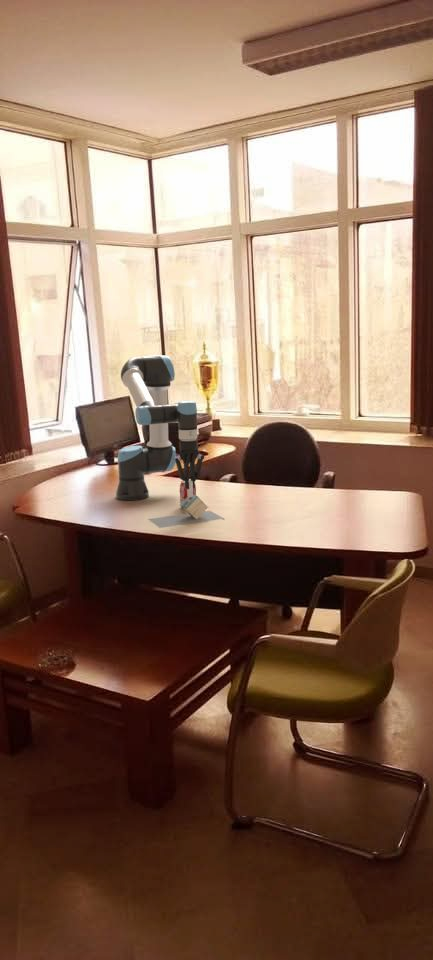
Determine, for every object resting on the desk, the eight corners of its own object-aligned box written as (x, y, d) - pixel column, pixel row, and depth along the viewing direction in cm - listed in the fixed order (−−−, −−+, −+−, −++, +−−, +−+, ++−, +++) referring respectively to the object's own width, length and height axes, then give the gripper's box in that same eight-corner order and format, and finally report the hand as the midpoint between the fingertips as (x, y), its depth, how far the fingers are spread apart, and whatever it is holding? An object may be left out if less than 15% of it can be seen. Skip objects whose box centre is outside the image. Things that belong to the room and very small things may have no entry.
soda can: (194, 510, 331) (193, 483, 329) (178, 510, 333) (177, 482, 330) (198, 506, 338) (197, 479, 336) (182, 506, 340) (181, 479, 337)
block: (190, 492, 320) (201, 503, 323) (179, 505, 319) (190, 515, 322) (197, 496, 313) (208, 507, 316) (185, 508, 312) (196, 519, 315)
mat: (147, 519, 318) (147, 519, 318) (209, 511, 329) (209, 510, 329) (159, 528, 305) (159, 527, 305) (224, 519, 316) (224, 518, 316)
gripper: (176, 442, 305) (178, 500, 310) (206, 439, 310) (208, 496, 315) (169, 439, 312) (172, 496, 317) (199, 436, 317) (201, 492, 322)
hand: (190, 496), depth 316 cm, fingers closed
